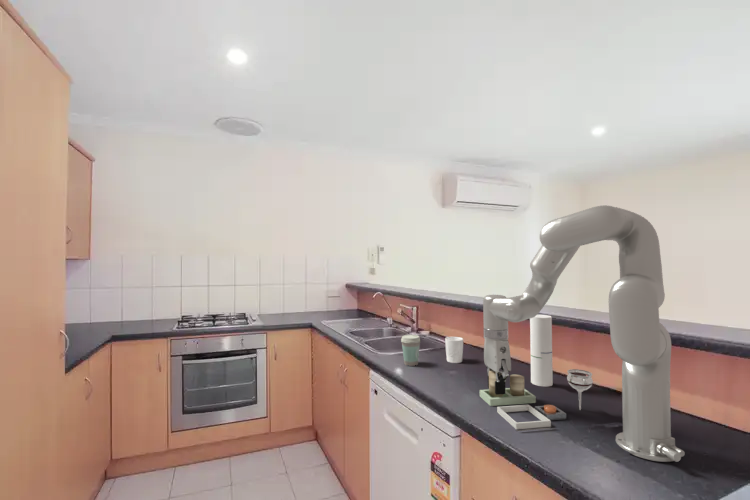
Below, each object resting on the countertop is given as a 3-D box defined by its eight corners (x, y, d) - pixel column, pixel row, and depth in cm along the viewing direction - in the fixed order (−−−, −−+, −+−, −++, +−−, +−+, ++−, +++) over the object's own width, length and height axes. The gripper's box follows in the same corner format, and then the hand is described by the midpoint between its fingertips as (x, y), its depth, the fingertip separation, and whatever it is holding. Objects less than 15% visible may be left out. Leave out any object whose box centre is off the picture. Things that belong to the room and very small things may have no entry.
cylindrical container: (555, 389, 131) (554, 318, 131) (533, 388, 132) (532, 317, 132) (549, 382, 138) (548, 314, 138) (529, 381, 139) (528, 314, 139)
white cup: (441, 359, 169) (441, 337, 169) (456, 357, 172) (455, 335, 172) (452, 364, 162) (452, 341, 162) (467, 362, 165) (466, 339, 165)
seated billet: (527, 400, 119) (527, 378, 119) (514, 401, 118) (514, 379, 118) (520, 395, 123) (519, 374, 123) (507, 396, 123) (507, 374, 123)
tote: (550, 430, 101) (550, 420, 101) (516, 432, 100) (516, 423, 100) (528, 412, 112) (528, 404, 112) (497, 415, 111) (497, 406, 111)
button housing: (566, 422, 106) (566, 413, 106) (546, 423, 105) (546, 415, 105) (553, 413, 112) (553, 405, 112) (534, 414, 111) (534, 406, 111)
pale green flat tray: (535, 405, 117) (535, 396, 117) (490, 409, 115) (490, 399, 115) (522, 396, 125) (522, 387, 125) (479, 399, 123) (479, 390, 123)
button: (558, 417, 107) (558, 408, 107) (548, 418, 107) (548, 409, 107) (551, 413, 110) (551, 404, 110) (541, 413, 110) (541, 404, 110)
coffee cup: (418, 367, 158) (418, 339, 158) (399, 366, 160) (398, 338, 160) (422, 362, 166) (422, 334, 166) (403, 360, 168) (403, 333, 168)
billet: (506, 396, 118) (505, 374, 118) (492, 397, 117) (492, 375, 117) (499, 391, 122) (499, 370, 122) (486, 392, 122) (486, 370, 122)
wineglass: (594, 411, 113) (593, 371, 113) (592, 419, 107) (591, 377, 107) (568, 406, 117) (568, 367, 117) (566, 414, 111) (565, 373, 111)
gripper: (520, 339, 112) (521, 400, 112) (494, 328, 129) (495, 381, 129) (496, 340, 111) (497, 402, 111) (474, 328, 128) (474, 382, 128)
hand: (496, 390), depth 120 cm, fingers closed on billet, 4 cm apart
